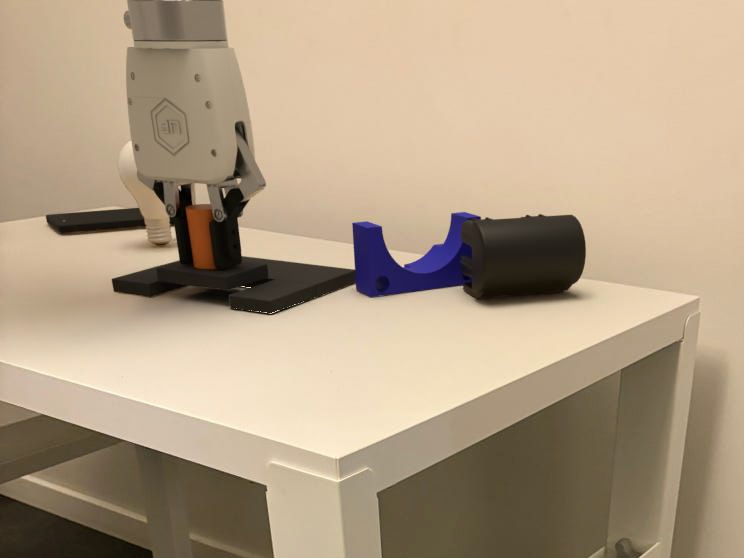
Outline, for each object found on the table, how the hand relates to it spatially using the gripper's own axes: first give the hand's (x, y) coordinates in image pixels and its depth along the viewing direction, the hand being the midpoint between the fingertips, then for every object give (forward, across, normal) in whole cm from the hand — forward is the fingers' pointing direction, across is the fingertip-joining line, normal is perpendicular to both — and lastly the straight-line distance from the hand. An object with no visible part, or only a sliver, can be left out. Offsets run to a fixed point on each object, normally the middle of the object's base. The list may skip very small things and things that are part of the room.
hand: (211, 262), depth 90 cm
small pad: (+2, 0, 0) cm, 2 cm away
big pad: (+3, 0, +3) cm, 4 cm away
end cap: (+3, +25, +13) cm, 28 cm away
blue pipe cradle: (+3, +14, +12) cm, 19 cm away
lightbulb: (+3, -20, +15) cm, 26 cm away
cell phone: (+3, -33, +24) cm, 41 cm away
